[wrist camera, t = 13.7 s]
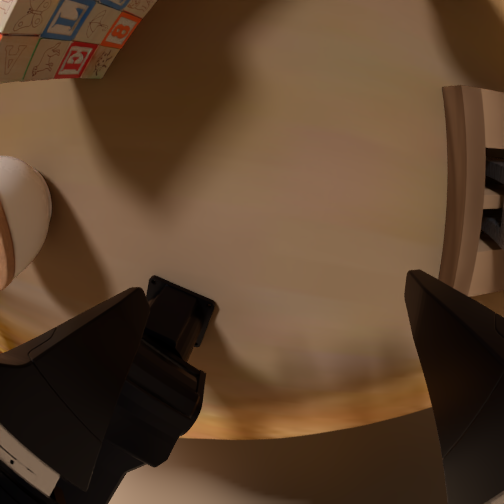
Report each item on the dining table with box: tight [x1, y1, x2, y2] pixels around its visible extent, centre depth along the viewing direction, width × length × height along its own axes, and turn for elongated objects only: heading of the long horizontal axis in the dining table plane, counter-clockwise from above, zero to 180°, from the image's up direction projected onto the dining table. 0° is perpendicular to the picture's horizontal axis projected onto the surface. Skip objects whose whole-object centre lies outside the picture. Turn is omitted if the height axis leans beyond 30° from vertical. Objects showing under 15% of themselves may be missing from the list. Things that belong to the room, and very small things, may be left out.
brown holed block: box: [438, 85, 504, 297], centre depth 16 cm, size 10×16×3 cm, turn 10°
